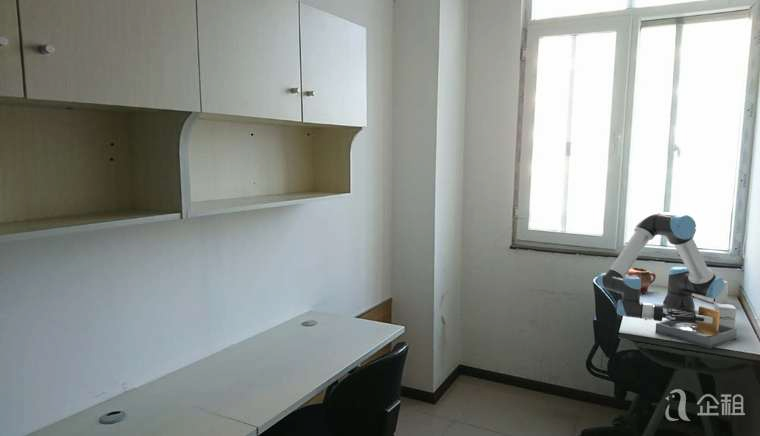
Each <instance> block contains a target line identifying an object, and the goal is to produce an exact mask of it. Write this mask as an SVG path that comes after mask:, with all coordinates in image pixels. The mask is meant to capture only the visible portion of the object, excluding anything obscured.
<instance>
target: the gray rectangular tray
mask: <svg viewBox="0 0 760 436" xmlns="http://www.w3.org/2000/svg"><path fill="white" fill-rule="evenodd" d="M677 323H694V322H683V321H670V320H669V319H665V320H662V321H657V322H656V323H655V332H654V333H656V334H659V335H663V336H665V337H670V338H672V339H675V340H680V341H683V342H687V343H689V344H693V345H696V346H699V347H703V348H705V349H713V348H716V347H718V346H721V345H723V344H726V343H729V342H730V341H733V340H735V339H736V338H737V331H738V330H737V328H735V327H734V328H731V327H727V326H723V325H720V324H719V329H718V335H716V336H713V337H710V338H708V337H705V336H701V335H698V334H694V333H691V332H687V331H684V330H680V329H677V328H674V327H675V324H677ZM695 324H697V321H695Z"/></svg>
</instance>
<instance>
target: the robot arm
mask: <svg viewBox="0 0 760 436" xmlns="http://www.w3.org/2000/svg"><path fill="white" fill-rule="evenodd" d="M633 231H634V233H633V234H632V236H631V237H630V239H629V241H628V242H627V243H626V245H625V246H624V248H623V249H622V250H621V252H620V253H619V255H618V256H617V258H616V259H615V260H614V262H613V263H612V265H611V267H610V268H609V269H608V271H607V272H602V273H601V274H598V276H597V279H596V280H597V281H596V282H597V285H598V286H599V287H600V288H602V289H604V290H608V291H612V292H614V293H617V294H622V295H621V296H622V298H621V299H618V300H617V302H616V303H617V306H616V314H617V315H619V316H623V317H627V318H636V319H644V321H647V320H650V321H651V320H653V321H657V322H662V321H663V318H664V319H666V320H668V319H669V320H670V321H683V322H694V323H695V321H697V322H704V323H712V322H713V317H710V316H702V315H698V314H696V306H695V302H694V298H693V296H692V293H693V294H696V295H700V296H703V297H706V298H717V297H718V296H719V295H720V294H721V292H722V290H723V287H724V281H725V280H724V279H723V278H722V277H721V276H716V275H715V273H714V271H713V270H712V269H711V268H710V267H708V265H707V264H706V262H705V260H704V258H703V256H702V254H701V252H700V250H699V248H698V246H697V244H696V241H695V240H694V236H695V234H696V231H697V224H696V222H695V219H694V218H693V217H691V216H690V215H687V214H683V213H673V212H666V211H665V212H664V211H655V212H652V213H649V214H648V215H646V216H645V217H644V218H642V219H641V220H640V221H639V222H638V223H637V225H635V228H634V230H633ZM657 235H659V236H664V237H666V239H667V240H668V241H667V242H668V243H670V244H671V245H673V246H675V249H676V251H677V253H678V254H679V256H680V259H681V260H682V262H683V264H684V266H672V267H671V268H669V272H668V282H667V294H666V295H665V298H664V300H663V302H662V304H657V303H655V304H653V303H647V302H640V300H641V294H640V291H641V279H640V278H639V277H636V276H626V274H627V272H628V271H629V270H630V269H631V267H632V266H633V264H634V263H635V261H636V260H637V258H638V257H639V255H640V254H641V253H642V252H643V250H644V248H645V247H646V245H647V244H648V242H649V241H651V240H653V239H654V238H655V237H656V236H657Z"/></svg>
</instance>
